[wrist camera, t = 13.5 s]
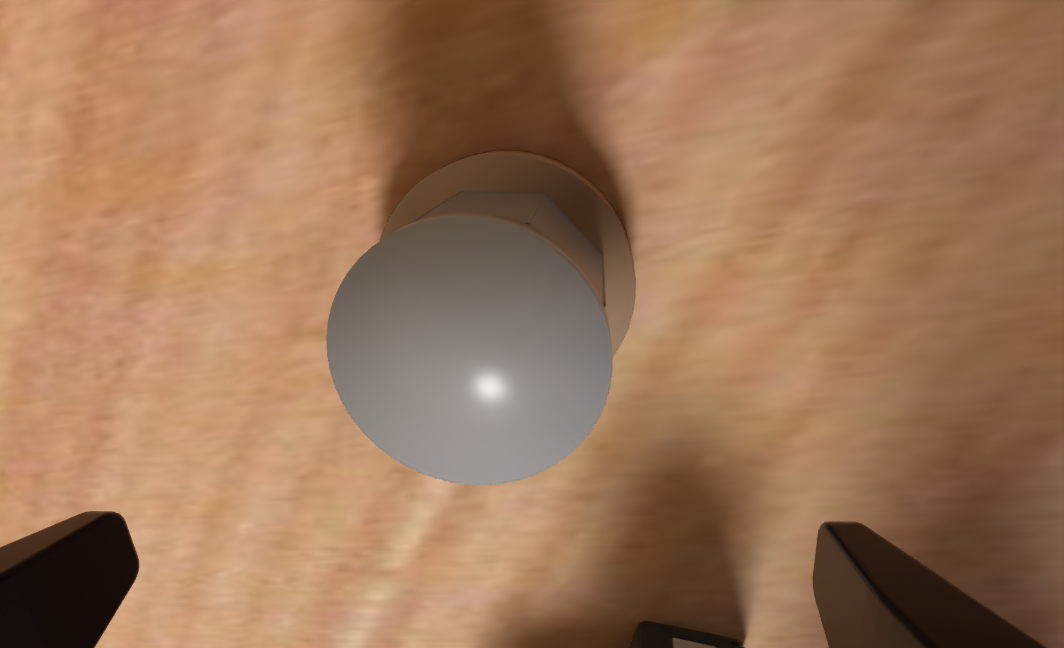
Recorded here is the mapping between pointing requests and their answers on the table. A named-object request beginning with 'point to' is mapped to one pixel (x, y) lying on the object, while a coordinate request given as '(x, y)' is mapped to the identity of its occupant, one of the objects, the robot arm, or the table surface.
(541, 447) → the cap
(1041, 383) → the table surface
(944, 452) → the table surface
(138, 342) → the table surface
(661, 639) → the camera
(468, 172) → the stub
